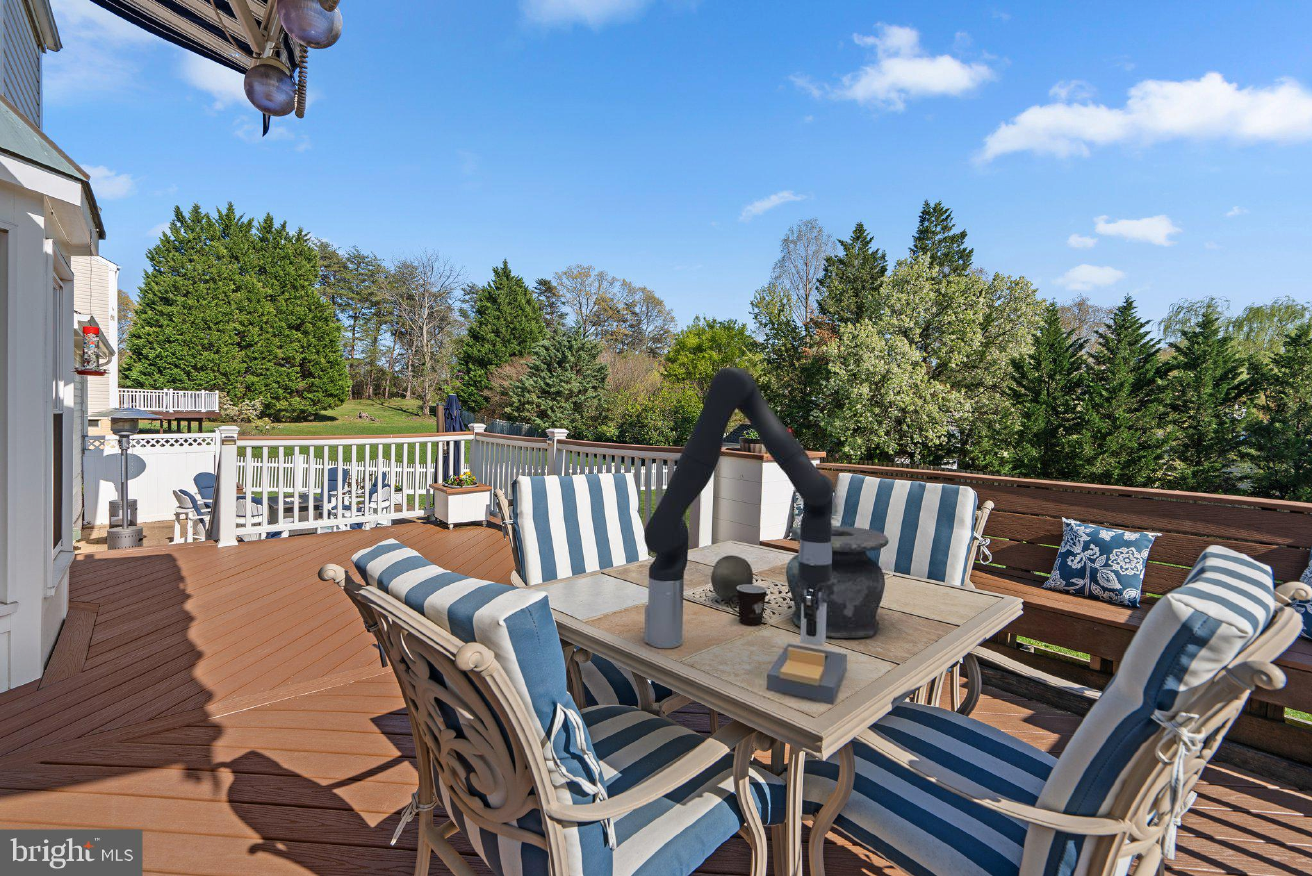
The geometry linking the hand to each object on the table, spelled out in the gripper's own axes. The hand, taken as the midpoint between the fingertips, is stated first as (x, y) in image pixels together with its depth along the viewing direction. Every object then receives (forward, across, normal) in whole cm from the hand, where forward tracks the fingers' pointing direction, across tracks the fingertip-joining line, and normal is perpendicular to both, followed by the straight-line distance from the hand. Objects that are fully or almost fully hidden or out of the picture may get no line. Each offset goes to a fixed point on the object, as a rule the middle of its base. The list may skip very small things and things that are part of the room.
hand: (813, 632), depth 135 cm
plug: (+2, 0, 0) cm, 2 cm away
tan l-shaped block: (+6, +11, 0) cm, 12 cm away
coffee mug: (+10, -26, -24) cm, 37 cm away
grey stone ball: (+10, -43, -34) cm, 56 cm away
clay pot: (+10, -37, -1) cm, 38 cm away
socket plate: (+9, +4, 0) cm, 10 cm away
